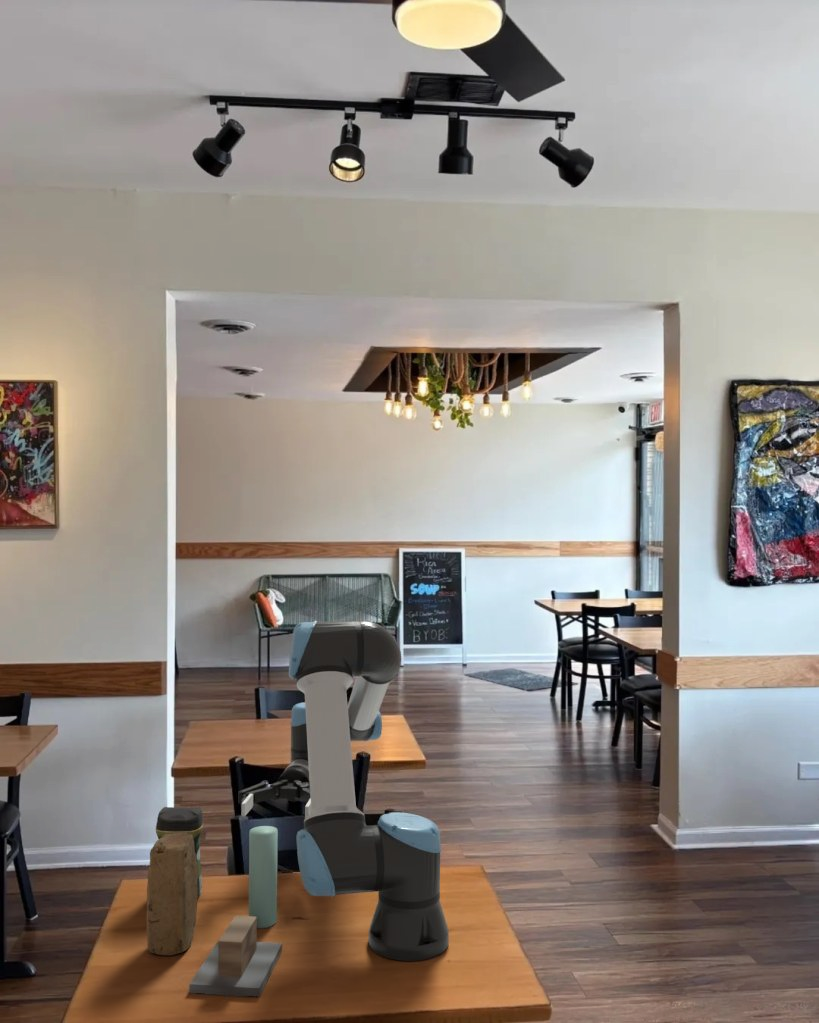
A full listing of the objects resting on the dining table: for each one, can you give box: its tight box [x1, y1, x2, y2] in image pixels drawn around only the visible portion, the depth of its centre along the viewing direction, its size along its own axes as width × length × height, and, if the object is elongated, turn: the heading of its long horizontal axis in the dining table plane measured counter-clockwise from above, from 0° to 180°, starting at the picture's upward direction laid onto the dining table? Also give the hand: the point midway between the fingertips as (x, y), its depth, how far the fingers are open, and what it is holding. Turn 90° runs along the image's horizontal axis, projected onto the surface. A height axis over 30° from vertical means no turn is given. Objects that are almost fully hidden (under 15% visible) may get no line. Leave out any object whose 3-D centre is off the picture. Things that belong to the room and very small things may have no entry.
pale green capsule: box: [248, 825, 279, 929], centre depth 178 cm, size 6×6×18 cm
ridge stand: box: [188, 915, 283, 998], centre depth 158 cm, size 16×12×8 cm
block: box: [146, 833, 198, 956], centre depth 168 cm, size 11×8×20 cm
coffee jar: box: [155, 806, 204, 898], centre depth 189 cm, size 10×8×19 cm
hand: (274, 811), depth 189 cm, fingers open, 13 cm apart
